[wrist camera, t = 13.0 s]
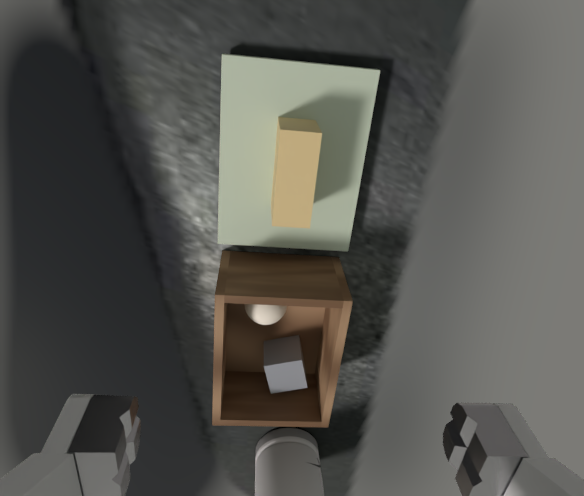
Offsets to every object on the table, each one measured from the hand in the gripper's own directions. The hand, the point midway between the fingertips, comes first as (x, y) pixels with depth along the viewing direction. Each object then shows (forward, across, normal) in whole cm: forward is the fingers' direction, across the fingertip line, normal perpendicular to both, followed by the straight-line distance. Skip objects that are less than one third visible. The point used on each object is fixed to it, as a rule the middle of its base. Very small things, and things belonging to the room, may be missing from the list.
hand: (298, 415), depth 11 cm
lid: (+21, -1, 0) cm, 21 cm away
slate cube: (+21, -2, +16) cm, 27 cm away
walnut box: (+22, -1, +14) cm, 25 cm away
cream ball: (+21, 0, +10) cm, 23 cm away
